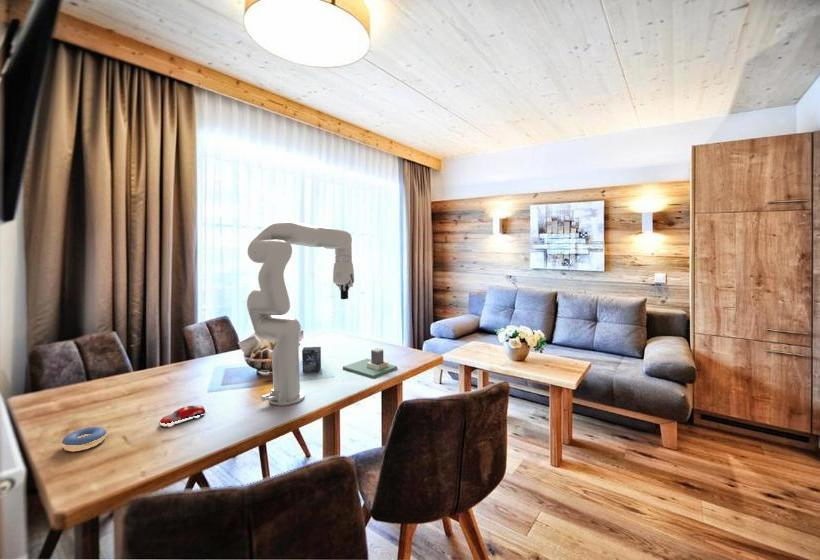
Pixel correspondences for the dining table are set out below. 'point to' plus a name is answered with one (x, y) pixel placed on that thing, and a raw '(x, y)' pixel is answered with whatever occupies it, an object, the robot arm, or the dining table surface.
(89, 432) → the doughnut
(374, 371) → the board
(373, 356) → the plug
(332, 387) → the dining table surface
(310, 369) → the box
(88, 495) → the dining table surface
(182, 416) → the race car
